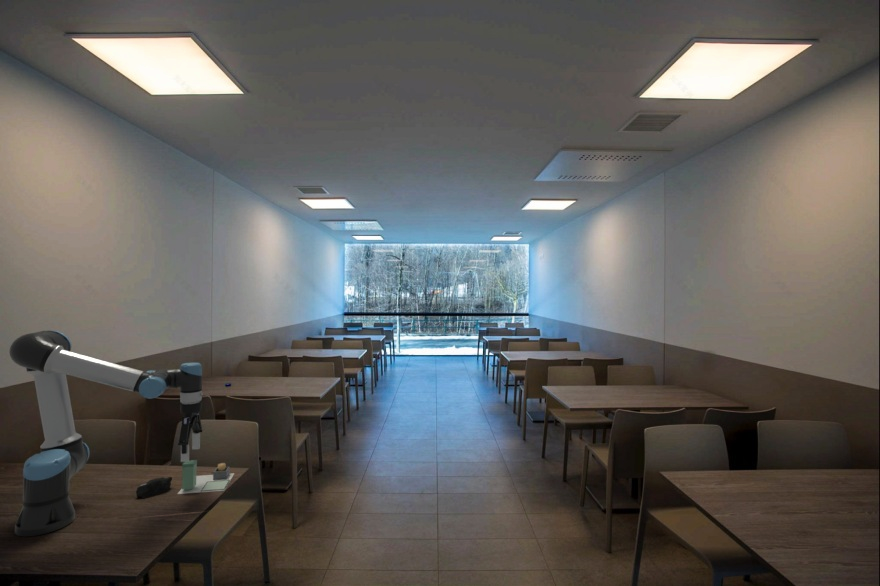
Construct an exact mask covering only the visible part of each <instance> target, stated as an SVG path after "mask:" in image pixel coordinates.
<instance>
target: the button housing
mask: <svg viewBox="0 0 880 586" xmlns="http://www.w3.org/2000/svg"><path fill="white" fill-rule="evenodd" d="M230 468H231V467H230V466H226V469H225V471H218V466H217V467H216V468H215V469H214V471H213V472H212V475H213V480H218V479H227V477H228V476H229V474H231V473H230V471H231V470H230Z"/></svg>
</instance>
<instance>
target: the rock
mask: <svg viewBox="0 0 880 586" xmlns="http://www.w3.org/2000/svg"><path fill="white" fill-rule="evenodd" d="M172 479H173V477H172V476H168V477H157V478H152V479H150V480H148V481H147V482H144V483H142V484H141V485H139V486H138V487H137V489H136V492H135V494H136V498H142V499H147V498H149V497H153V496H157V495H158V494H163V493H164V492H167V491H169V490H171V483H172V481H173V480H172Z"/></svg>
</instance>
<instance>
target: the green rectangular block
mask: <svg viewBox="0 0 880 586" xmlns="http://www.w3.org/2000/svg"><path fill="white" fill-rule="evenodd" d="M197 465H198V459H191V460H190V459H189V461H187V462H182V464H181V468H182V470H181V472H182V473H181V474H182V475H181V477H182V478H181V489H184V490H185V491H189V490H192V489H194V487H195V485H196V476H197V473H198V472H197Z"/></svg>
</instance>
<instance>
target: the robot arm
mask: <svg viewBox="0 0 880 586" xmlns="http://www.w3.org/2000/svg"><path fill="white" fill-rule="evenodd" d="M71 350H72V342H71V340H70V338H69V337H68V336H67V335H66V334H65V333H62V332H61V331H57V330H50V329H49V330H41V331H37V332H30V333H26V334H23V335H20V336H19V337H17V338H16V339H14V341H13V342H12V343H11V344H10V347H9V356H10V358H11V360H12V361H13V362H14V363H15V364H16V365H18V366H20V367H23V368H26V372H27V373H29V374H30V375H32V376H33V380H34V385H35V386H34V387H35V391H36V398H37V403H38V408H39V415H40V420H41V425H42V431H43V432H42V433H43V436H44V441H43V443H41V445H39V446H40V452H39V453H35V454H33V455H31V456H30V457H29V458H27V459H26V460H25V462H24V464H23V465H24V466H23V469H22V508H21V510H20V512H19V515H18V517H17V519H16V522H15V524H14V534H15V535H16V536H18V537H23V538H24V537H36V536H41V535H42V536H43V535H45V534H49V533H51V532H52V533H53V532H56V531H57V530H60V529H63V528H64V527H67V526H69V524H71V523H72V522H74V520H75V518H76V510H75V507H74V505H73V502H72V500H71V498H70V480H71V479H72V478H73V477H74V476H75V475H76V474H77V473H79V471H81V470H82V469H83V468H84V466H85V465H86V464H87V462H88V460H89V457H90V448H89V446H88V445H87V443H86V442H83V436H82V434H80V433H78V432H77V431H76V427H75V421H74V414H73V409H72V404H71V398H70V396H71V395H70V391H69V386H68V379H67V375H68V376H72V377H75V378H79V379H82V380H86V381H89V382H90V381H91V382H95V383H98V384H103V385H106V386H110V387H113V388H118V389H121V390H126V391H130V392H133V393H137V394H140V396H141V397H143V398H145V399H149V400H150V399H155V398H157V397H159V396H162V394H163V393H164V392H165V391H166V390H168V389H180V391H179V397H180V398H179V399H180V401H179V402H180V405H179V410H180V411H179V412H180V414H183V415H185V416H184V417H183V418H181V427H180V433H179V439H178V444H177V446H180V463H184V462H187V461H189V460H190V443H189V441H190V437H191V439H192V440H191V449H192V450H200V449H201V433H203V425H202V421H201V411H202V409H203V408H202V407H203V402H202V398H203V397H202V396H204V393H203V391H202V390H203V367H202V364H201V363H200V362H185V363H181V364H180V367H179V368H174V369H173V368H172V369H170V368H168V369H153V370H150V369H149V370H147V371H144V370H141V369H140V370H139V369H136V368H133V367H129V366H125V365H121V364H117V363H115V362H111V361H107V360H103V359H99V358H97V357H96V358H95V357H92V356H89V355H85V354H81V353H79V352H74V351H71ZM191 433H192V434H191Z"/></svg>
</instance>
